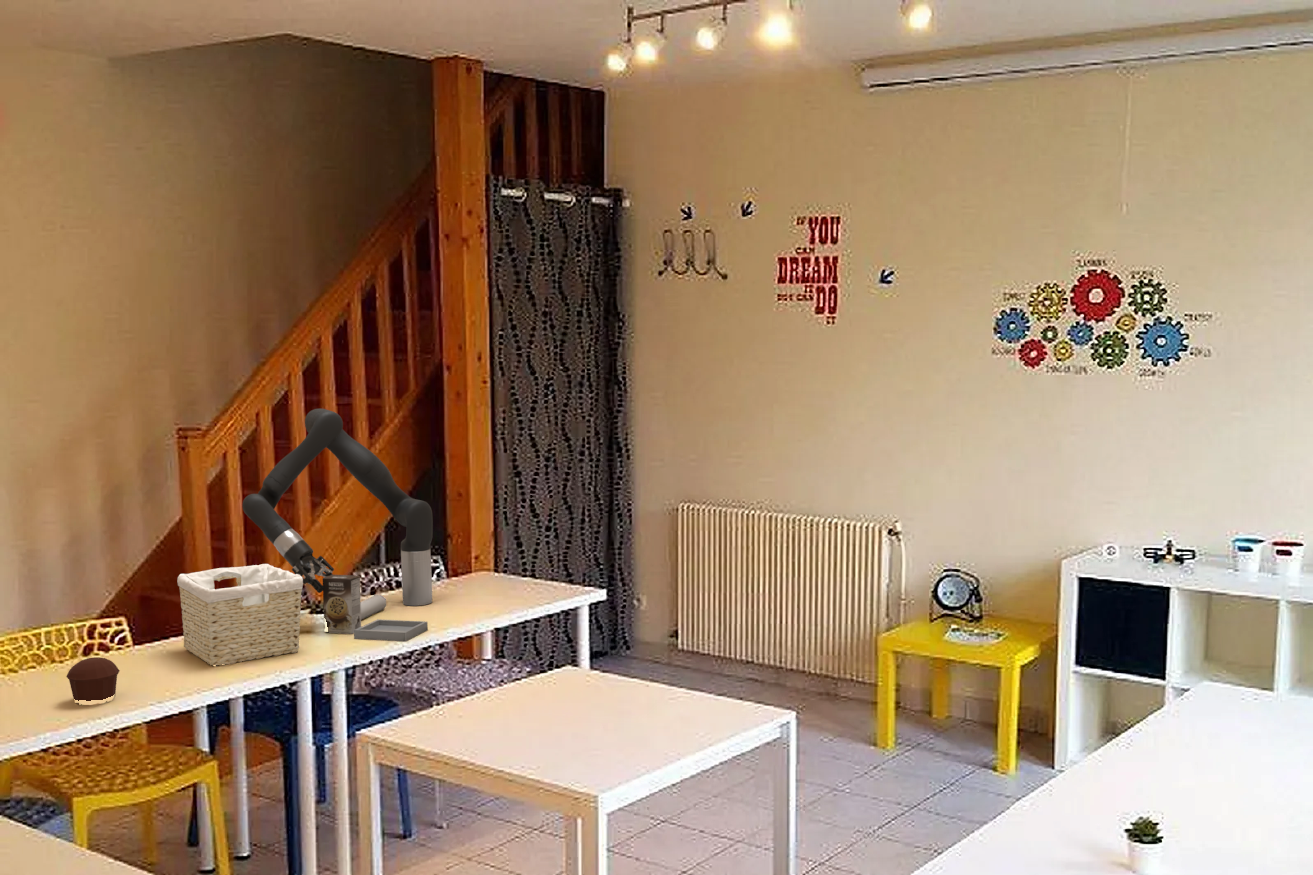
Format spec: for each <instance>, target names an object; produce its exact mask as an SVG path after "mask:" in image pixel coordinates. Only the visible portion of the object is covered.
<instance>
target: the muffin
mask: <svg viewBox="0 0 1313 875" xmlns="http://www.w3.org/2000/svg"><path fill="white" fill-rule="evenodd" d="M120 671H121V670H120V669H119V668H118V666H117V665H116V664H115V662H113V661H112V660H110V659H109V658H108V659H107V658H105V657H95V656H94V657H88V658H85V659H81V660H80V661H78V662H77V663H75V664H74V665H73V666H71V668H70V669H69V670H68V673H67V674H66V675H65V677H66V678H67V679H68V681H69V685H70V690H71V693H72V699H73V700H74V699H75V700H78V701H79V700H86V701H91V700H103V699H106V698H108V697H111V696H113V695H114V694H115V695H116V692H117V691H116V690H117V682H118V681H117V679H118V674H119V673H120Z"/></svg>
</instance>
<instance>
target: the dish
mask: <svg viewBox="0 0 1313 875" xmlns="http://www.w3.org/2000/svg"><path fill="white" fill-rule="evenodd" d="M428 628H429V625H428V621H424V620H423V621H422V620H401V619H378V618H377V619H375V620H373V621H371V622H369V623H366V624H364V625H361V627H360V628H357V629H355V630H354V633H353V639H354V640H368V641H369V640H370V641H371V640H372V641H373V640H374V641H386V642H387V641H388V642H389V641H391V642H407V641H409V640H411V639H414V638H415V637H417V636H419V635H421V634H423V633H425V632H427V631H429V629H428Z"/></svg>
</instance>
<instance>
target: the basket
mask: <svg viewBox="0 0 1313 875" xmlns="http://www.w3.org/2000/svg"><path fill="white" fill-rule="evenodd" d="M302 577H303V576H302ZM302 577H301V576H300V575H298V574H295V573H294V572H290V570H284V569H282V568H281V567H274V565H272V564H271V565H270V564H269V563H262V564H259V565H257V564H255V565H254V564H252V565H247V566H246V565H244V566H234V567H233V566H231V567H219V568H213V569H206V570H202V571H195V572H190V573H180V574H179V575H178V576H177V586H178V587H179V596H180V607H181V614H182V615H181V619H182V628H183V629H182V630H183V632H182V634H183V648H185V650H187V651H189V652H190V653H192V654H193V655H195V656H196V657H198V658H199V659H200V658H201V660H202V661H203V662H205V663H206V662H207V663H206V664H208V665H209V664H210V666H211V665H222V664H228V665H233V664H236V663H237V662H238V663H242V661H243V662H245V661H251V660H255V659H256V660H260V659H263V658H264V657H271V656H276V657H277V656H281V655H283V654H284V655H287V654H290V653H291V654H295V653H298V651H299V649H300V631H301V626H300V625H301V602H302V593H303V592H302V591H303V586H304V584H303V578H304V577H303V578H302ZM229 579H235V582H236V584H237V585H236V586H232V587H224V588H216V589H215V581H218V582H221V581H222V580H229Z"/></svg>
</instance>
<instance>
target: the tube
mask: <svg viewBox="0 0 1313 875" xmlns="http://www.w3.org/2000/svg"><path fill="white" fill-rule="evenodd" d="M360 604H361V621H362V619H363V620H364V618H365V619H366V618H369V617H371V616H373V615H376V614H377V613H379V612H382V611H384V610H385V608H386V607H387V598H386V597H384V595H382V594H373V595H372V596H371V597H368V598H366V599H364V600H362V601H360ZM381 610H382V611H381ZM372 614H373V615H372Z"/></svg>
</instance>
